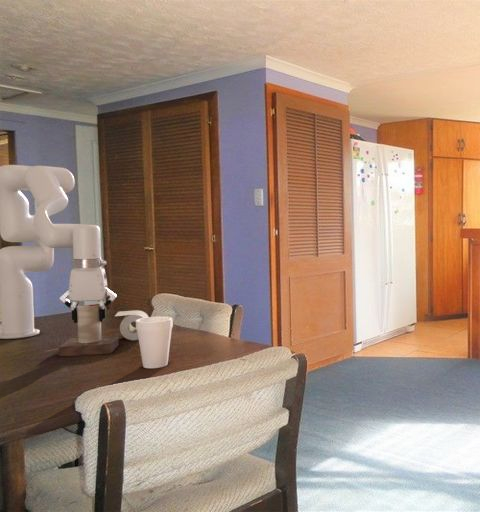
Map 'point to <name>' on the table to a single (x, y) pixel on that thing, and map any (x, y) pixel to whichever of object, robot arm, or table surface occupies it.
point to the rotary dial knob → (89, 323)
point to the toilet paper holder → (126, 326)
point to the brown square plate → (88, 346)
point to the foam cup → (154, 340)
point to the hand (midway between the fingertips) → (89, 321)
